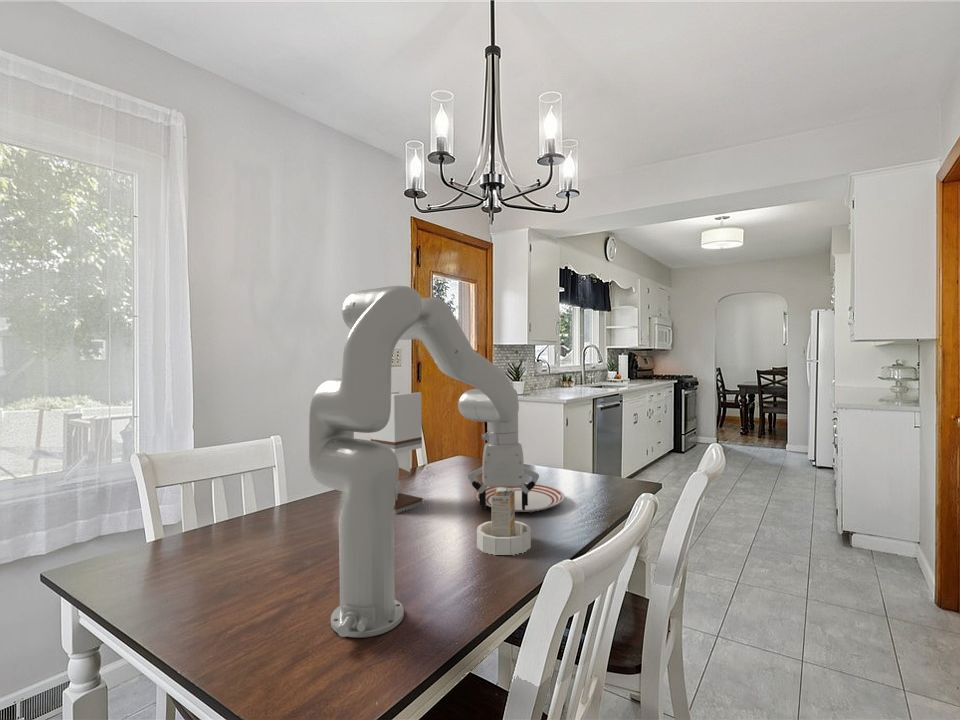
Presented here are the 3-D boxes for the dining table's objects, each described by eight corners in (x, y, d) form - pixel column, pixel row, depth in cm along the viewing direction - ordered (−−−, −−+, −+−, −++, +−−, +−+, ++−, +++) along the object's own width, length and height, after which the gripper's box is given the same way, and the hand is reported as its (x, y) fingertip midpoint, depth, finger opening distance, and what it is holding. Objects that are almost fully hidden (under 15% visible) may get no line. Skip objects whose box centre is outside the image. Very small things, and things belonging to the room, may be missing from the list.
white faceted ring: (531, 556, 116) (531, 538, 116) (475, 555, 117) (475, 538, 117) (529, 535, 129) (529, 520, 129) (479, 535, 130) (479, 519, 130)
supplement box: (511, 552, 119) (510, 497, 119) (491, 551, 120) (490, 496, 119) (515, 539, 127) (515, 487, 127) (497, 538, 128) (496, 487, 128)
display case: (395, 514, 148) (394, 395, 148) (371, 507, 154) (370, 393, 154) (422, 504, 157) (421, 392, 157) (398, 499, 164) (397, 391, 163)
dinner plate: (555, 522, 140) (555, 510, 140) (463, 513, 149) (463, 502, 149) (571, 495, 166) (570, 485, 166) (491, 489, 175) (491, 479, 175)
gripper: (466, 441, 120) (467, 513, 120) (539, 441, 119) (540, 513, 119) (468, 436, 127) (469, 503, 127) (537, 435, 126) (538, 504, 126)
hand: (503, 508), depth 123 cm, fingers open, 9 cm apart
